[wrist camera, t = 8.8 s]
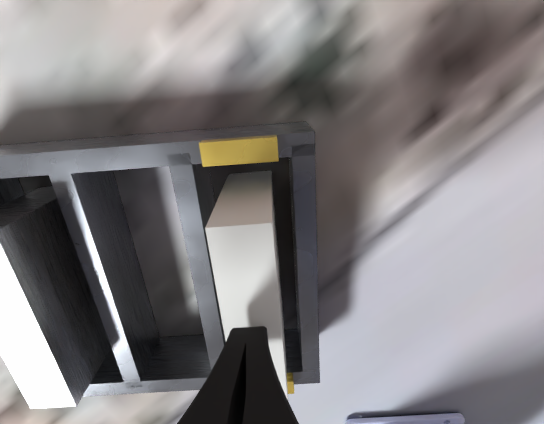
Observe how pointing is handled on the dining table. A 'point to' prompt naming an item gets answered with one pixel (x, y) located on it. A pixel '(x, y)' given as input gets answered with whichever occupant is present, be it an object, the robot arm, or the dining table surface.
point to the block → (248, 260)
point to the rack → (131, 262)
